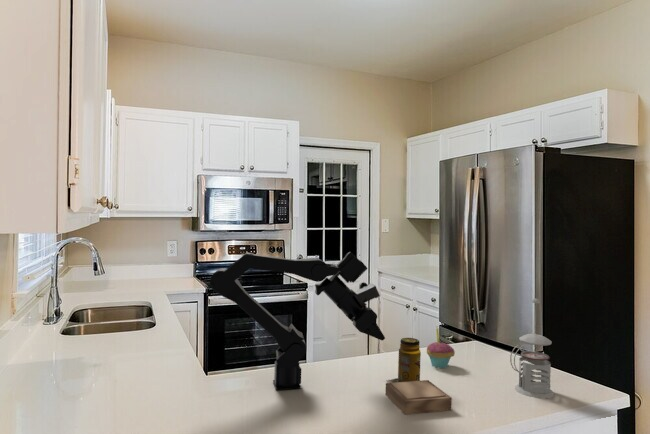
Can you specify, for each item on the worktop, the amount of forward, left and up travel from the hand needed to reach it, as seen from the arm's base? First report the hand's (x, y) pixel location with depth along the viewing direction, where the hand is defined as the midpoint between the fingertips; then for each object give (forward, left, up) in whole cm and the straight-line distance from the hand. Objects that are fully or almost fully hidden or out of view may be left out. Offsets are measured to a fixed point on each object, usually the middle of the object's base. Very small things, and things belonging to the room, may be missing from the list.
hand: (379, 334), depth 125 cm
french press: (+39, -13, -14) cm, 43 cm away
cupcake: (+25, +11, -14) cm, 30 cm away
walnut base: (+5, -14, -13) cm, 20 cm away
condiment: (+8, -1, -14) cm, 16 cm away
